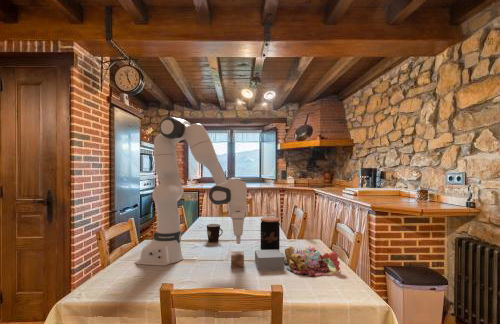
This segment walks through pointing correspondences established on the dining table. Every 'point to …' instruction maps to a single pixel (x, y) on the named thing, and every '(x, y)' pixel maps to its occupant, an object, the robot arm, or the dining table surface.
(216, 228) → the coffee mug
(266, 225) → the coffee jar
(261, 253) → the grey box
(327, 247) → the dining table surface
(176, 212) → the robot arm
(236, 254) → the walnut block
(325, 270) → the candy landscape model
